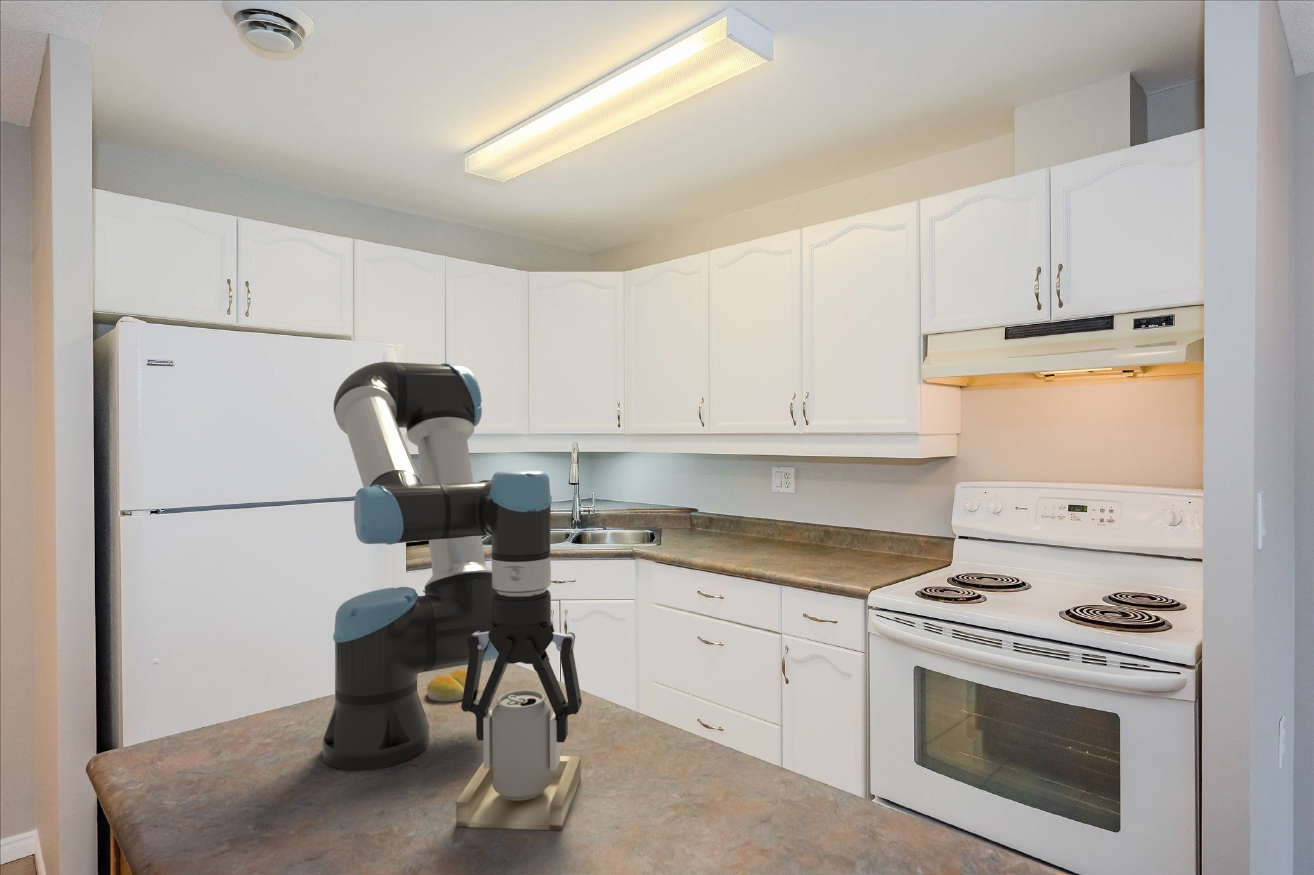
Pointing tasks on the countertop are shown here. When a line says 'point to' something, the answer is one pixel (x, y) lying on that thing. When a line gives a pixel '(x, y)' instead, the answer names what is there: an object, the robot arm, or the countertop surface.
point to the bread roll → (447, 687)
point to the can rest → (536, 813)
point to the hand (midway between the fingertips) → (522, 764)
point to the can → (521, 745)
